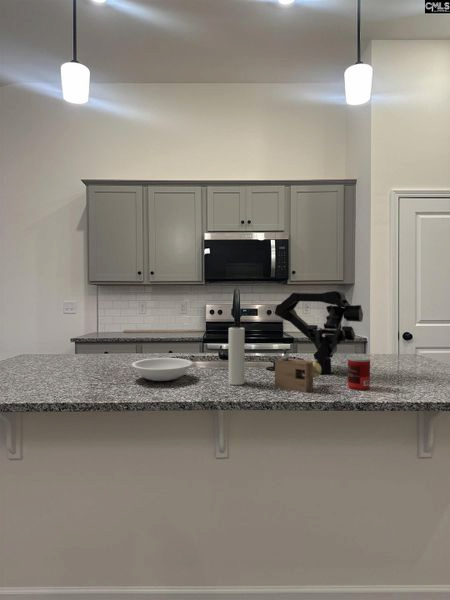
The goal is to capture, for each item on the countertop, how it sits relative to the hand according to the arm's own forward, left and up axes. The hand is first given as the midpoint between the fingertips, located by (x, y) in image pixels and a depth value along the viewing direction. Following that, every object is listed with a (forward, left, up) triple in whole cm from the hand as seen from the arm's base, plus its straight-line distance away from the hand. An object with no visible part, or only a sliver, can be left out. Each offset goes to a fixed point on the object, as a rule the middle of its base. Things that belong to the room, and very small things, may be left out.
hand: (324, 348), depth 153 cm
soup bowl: (-21, -61, -13) cm, 65 cm away
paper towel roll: (-6, -35, -13) cm, 37 cm away
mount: (+7, -18, -13) cm, 23 cm away
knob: (+7, -11, -9) cm, 16 cm away
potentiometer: (+5, -20, -3) cm, 21 cm away
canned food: (+14, +5, -13) cm, 20 cm away
